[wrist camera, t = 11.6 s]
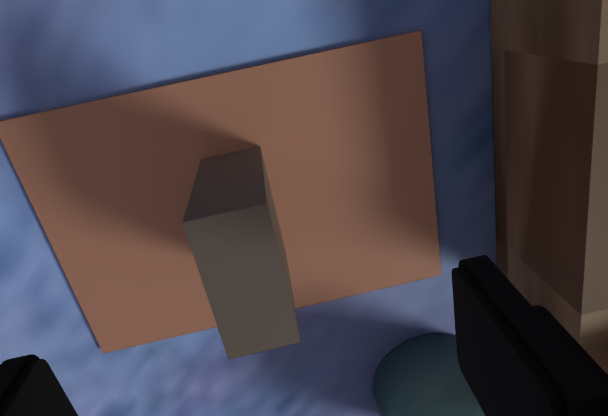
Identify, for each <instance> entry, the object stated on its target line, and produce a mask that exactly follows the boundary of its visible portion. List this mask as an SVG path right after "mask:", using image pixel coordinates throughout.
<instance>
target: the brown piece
mask: <svg viewBox="0 0 608 416" xmlns="http://www.w3.org/2000/svg"><path fill="white" fill-rule="evenodd" d="M0 139H1V141H2V143H3V145H4V147H5V149H6V151H7V153H8V156H9V158H10V160H11V162H12V164H13V166H14V168H15V170H16V172H17V174H18V176H19V179H20V181H21V183H22V185H23V187H24V189H25V191H26V193H27V195H28V197H29V199H30V202H31V204H32V206H33V208H34V210H35V212H36V214H37V216H38V218H39V220H40V222H41V224H42V227H43V229H44V231H45V233H46V235H47V237H48V239H49V241H50V243H51V245H52V247H53V250H54V252H55V254H56V256H57V258H58V260H59V262H60V264H61V266H62V268H63V270H64V273H65V275H66V277H67V279H68V281H69V283H70V285H71V287H72V289H73V291H74V293H75V296H76V298H77V300H78V302H79V304H80V306H81V308H82V310H83V312H84V314H85V316H86V318H87V321H88V323H89V325H90V327H91V329H92V331H93V333H94V335H95V337H96V339H97V341H98V344H99V346H100V348H101V350H102V352H103V353H107V352H111V351H116V350H120V349H124V348H128V347H133V346H137V345H141V344H146V343H150V342H154V341H159V340H163V339H167V338H172V337H176V336H180V335H184V334H189V333H193V332H197V331H202V330H206V329H210V328H215V327H218V330H219V333H220V336H221V339H222V342H223V345H224V348H225V351H226V354H227V357H228V359H232V358H236V357H241V356H245V355H249V354H253V353H258V352H262V351H266V350H271V349H275V348H279V347H283V346H288V345H292V344H296V343H300V342H301V339H300V333H299V327H298V321H297V315H296V308H301V307H305V306H309V305H314V304H318V303H322V302H327V301H331V300H335V299H339V298H344V297H348V296H352V295H357V294H361V293H365V292H370V291H374V290H378V289H383V288H387V287H391V286H395V285H400V284H404V283H408V282H413V281H417V280H421V279H426V278H430V277H434V276H439V275H441V263H440V250H439V238H438V226H437V214H436V201H435V189H434V177H433V165H432V152H431V140H430V128H429V115H428V103H427V91H426V79H425V66H424V54H423V42H422V31H420V30H419V31H414V32H410V33H405V34H400V35H396V36H391V37H387V38H382V39H377V40H373V41H368V42H363V43H359V44H354V45H349V46H345V47H340V48H335V49H331V50H326V51H322V52H317V53H312V54H308V55H303V56H298V57H294V58H289V59H284V60H280V61H275V62H271V63H266V64H261V65H257V66H252V67H247V68H243V69H238V70H233V71H229V72H224V73H219V74H215V75H210V76H206V77H201V78H196V79H192V80H187V81H182V82H178V83H173V84H168V85H164V86H159V87H155V88H150V89H145V90H141V91H136V92H131V93H127V94H122V95H117V96H113V97H108V98H103V99H99V100H94V101H90V102H85V103H80V104H76V105H71V106H66V107H62V108H57V109H52V110H48V111H43V112H38V113H34V114H29V115H25V116H20V117H15V118H11V119H6V120H1V121H0Z"/></svg>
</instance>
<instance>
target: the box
mask: <svg viewBox="0 0 608 416" xmlns="http://www.w3.org/2000/svg"><path fill="white" fill-rule="evenodd" d="M490 14H491V52H492V90H493V128H494V166H495V204H496V242H497V267H498V269H499V270H500V271H501V272H502V273H503V274H504V275H505V276H506V278H507V279H508V280H509V281H510V282H511V283H512V284H513V285H514V286H515V288H516V289H517V290H518V291H519V292H520V293H521V294H522V295H523V297H524V298H525V299H526V300H527V301H528V302H529V303H530V304H531V305H532V306H535V305H540V306H543V307H544V308H546V309H547V310H548V311H549V312H550V313H551V314H552V315H553V316H554V317H555V319H556V320H557V321H558V322H559V323H560V324H561V325H562V326H563V327H564V328H565V329H566V330H567V331H568V332H569V334H570V335H571V336H572V337H573V338H574V339H575V340H576V341H577V342H578V343H579V344H580V345H581V346H582V348H583V349H584V350H585V351H586V352H587V353H588V354H589V355H590V356H591V357H592V358H593V359H594V360H595V361H596V363H597V364H598V365H599V366H600V367H601V368H602V369H603V370H604V371H605V372H606V373H607V374H608V0H490Z"/></svg>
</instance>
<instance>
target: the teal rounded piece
mask: <svg viewBox="0 0 608 416" xmlns="http://www.w3.org/2000/svg"><path fill="white" fill-rule="evenodd" d="M373 394H374V397H375V400H376V403H377V407H378V410H379V413H380V416H485V414H484V412H483V411H482V409H481V407H480V405H479V403H478V401H477V400H476V398H475V396H474V394H473V392H472V390H471V389H470V387H469V385H468V383H467V381H466V379H465V378H464V376H463V374H462V372H461V369H460V366H459V363H458V358H457V344H456V336H454V335H449V334H428V335H423V336H419V337H416V338H413V339H411V340H408V341H406V342H404V343H403V344H401V345H399V346H398V347H396V348H395V349H394V350H392V351H391V352H390V353H389V354H388V355H387V356H386V357H385V358H384V359H383V361H382V362H381V363H380V365H379V367H378V368H377V370H376V373H375V375H374V379H373Z"/></svg>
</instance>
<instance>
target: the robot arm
mask: <svg viewBox="0 0 608 416" xmlns="http://www.w3.org/2000/svg"><path fill="white" fill-rule="evenodd" d="M452 285H453V300H454V315H455V330H456V344H457V358H458V363H459V366H460V369H461V372H462V374H463V376H464V378H465V379H466V381H467V383H468V385H469V387H470V389H471V390H472V392H473V394H474V396H475V398H476V400H477V401H478V403H479V405H480V407H481V409H482V411H483V412H484V414H485V416H608V374H607V373H606V372H605V371H604V370H603V369H602V368H601V367H600V366H599V365H598V364H597V363H596V361H595V360H594V359H593V358H592V357H591V356H590V355H589V354H588V353H587V352H586V351H585V350H584V349H583V348H582V346H581V345H580V344H579V343H578V342H577V341H576V340H575V339H574V338H573V337H572V336H571V335H570V334H569V332H568V331H567V330H566V329H565V328H564V327H563V326H562V325H561V324H560V323H559V322H558V321H557V320H556V319H555V317H554V316H553V315H552V314H551V313H550V312H549V311H548V310H547V309H546V308H544V307H543V306H540V305H535V306H532V305H531V304H530V303H529V302H528V301H527V300H526V299H525V298H524V297H523V295H522V294H521V293H520V292H519V291H518V290H517V289H516V288H515V286H514V285H513V284H512V283H511V282H510V281H509V280H508V279H507V278H506V276H505V275H504V274H503V273H502V272H501V271H500V270H499V269H498V267H497V266H496V265H495V264H494V263H493V262H492V261H491V260H490V258H489V257H487V256H486V255H482V256H478V257H473V258H468V259H464V260H460V261H459V267H458V268H453V269H452ZM0 416H78V415H77V413H76V411H75V410H74V408H73V406H72V404H71V403H70V401H69V399H68V397H67V396H66V394H65V392H64V390H63V389H62V387H61V385H60V383H59V382H58V380H57V378H56V377H55V375H54V373H53V371H52V370H51V368H50V366H49V364H48V363H47V362H46V360H44V359H39V358H38V357H37V356H36V355H26V356H22V357H17V358H13V359H8V360H6V361H4V362H3V363H2V364H1V365H0Z"/></svg>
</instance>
